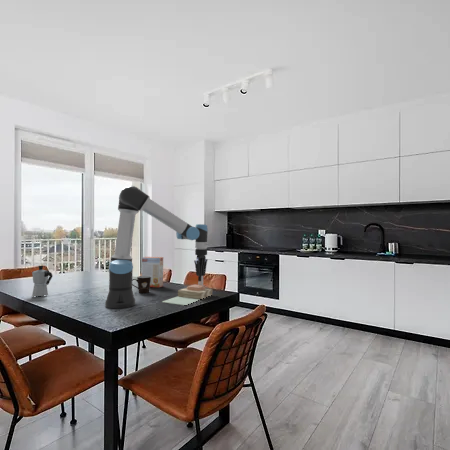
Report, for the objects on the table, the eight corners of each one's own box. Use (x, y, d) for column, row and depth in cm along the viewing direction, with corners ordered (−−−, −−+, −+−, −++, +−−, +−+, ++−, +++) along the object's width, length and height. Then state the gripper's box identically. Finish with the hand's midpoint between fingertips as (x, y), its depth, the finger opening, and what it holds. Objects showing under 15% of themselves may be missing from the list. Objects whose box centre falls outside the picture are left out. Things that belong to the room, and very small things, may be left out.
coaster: (198, 291, 179) (198, 287, 179) (187, 289, 182) (187, 286, 183) (205, 288, 186) (205, 285, 186) (194, 287, 190) (194, 284, 190)
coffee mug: (152, 291, 197) (152, 275, 197) (148, 294, 188) (148, 277, 188) (135, 290, 198) (135, 275, 198) (130, 293, 189) (130, 277, 189)
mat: (185, 305, 160) (185, 305, 160) (161, 302, 167) (161, 301, 167) (200, 300, 173) (200, 299, 173) (177, 297, 180) (177, 296, 180)
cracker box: (163, 286, 214) (163, 257, 214) (159, 287, 208) (159, 257, 209) (145, 285, 218) (146, 256, 218) (141, 286, 212) (141, 257, 212)
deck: (200, 299, 174) (200, 292, 174) (177, 296, 181) (177, 290, 181) (212, 295, 186) (212, 288, 186) (190, 292, 193) (190, 286, 193)
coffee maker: (25, 296, 177) (25, 265, 177) (38, 293, 185) (39, 264, 186) (44, 298, 173) (45, 267, 173) (57, 295, 181) (58, 265, 181)
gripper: (201, 249, 182) (200, 288, 182) (211, 248, 194) (210, 285, 194) (190, 248, 186) (190, 287, 185) (201, 248, 197) (200, 284, 197)
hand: (200, 286), depth 189 cm, fingers closed
